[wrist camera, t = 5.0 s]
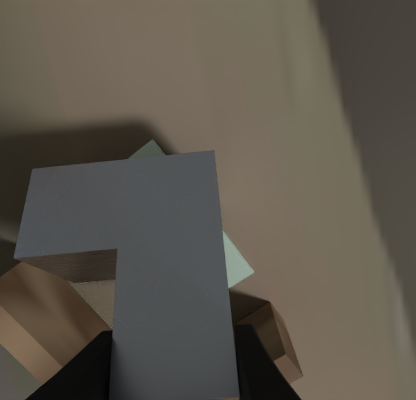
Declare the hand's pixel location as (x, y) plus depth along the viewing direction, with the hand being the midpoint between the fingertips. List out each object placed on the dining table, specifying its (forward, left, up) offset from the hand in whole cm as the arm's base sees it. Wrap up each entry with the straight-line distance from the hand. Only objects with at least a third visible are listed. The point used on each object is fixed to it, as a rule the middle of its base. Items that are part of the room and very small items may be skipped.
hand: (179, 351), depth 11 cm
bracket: (-1, -2, -5) cm, 5 cm away
